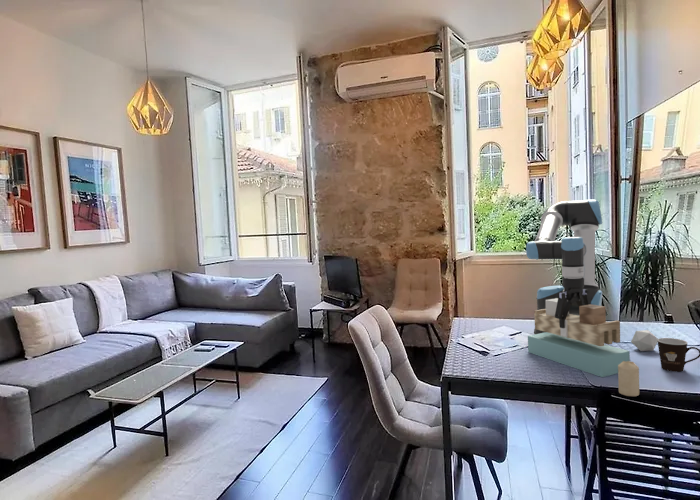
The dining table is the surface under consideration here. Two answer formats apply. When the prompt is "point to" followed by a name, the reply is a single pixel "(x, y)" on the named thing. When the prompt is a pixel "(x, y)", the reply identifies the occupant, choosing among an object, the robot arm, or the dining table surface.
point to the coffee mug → (674, 354)
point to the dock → (578, 353)
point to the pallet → (579, 329)
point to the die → (644, 340)
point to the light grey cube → (551, 306)
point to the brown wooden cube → (592, 314)
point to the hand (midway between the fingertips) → (574, 334)
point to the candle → (628, 378)
